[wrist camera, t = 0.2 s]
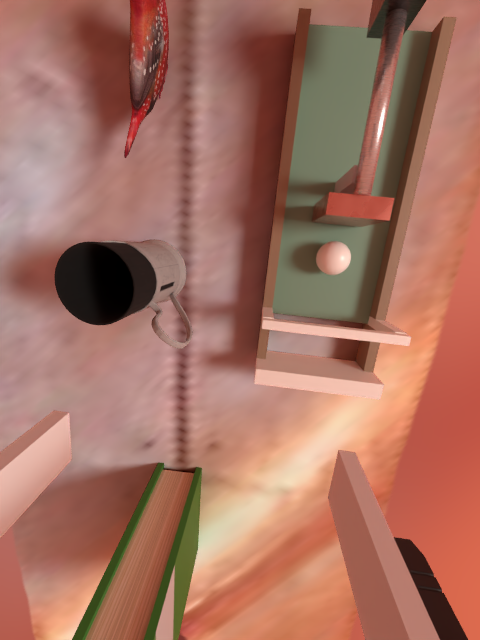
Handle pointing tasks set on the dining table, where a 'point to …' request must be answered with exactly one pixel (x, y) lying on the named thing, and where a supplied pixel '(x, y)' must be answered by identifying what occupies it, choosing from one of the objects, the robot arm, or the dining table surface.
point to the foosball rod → (372, 121)
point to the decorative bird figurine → (146, 59)
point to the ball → (333, 258)
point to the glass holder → (121, 281)
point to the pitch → (339, 177)
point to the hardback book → (150, 565)
